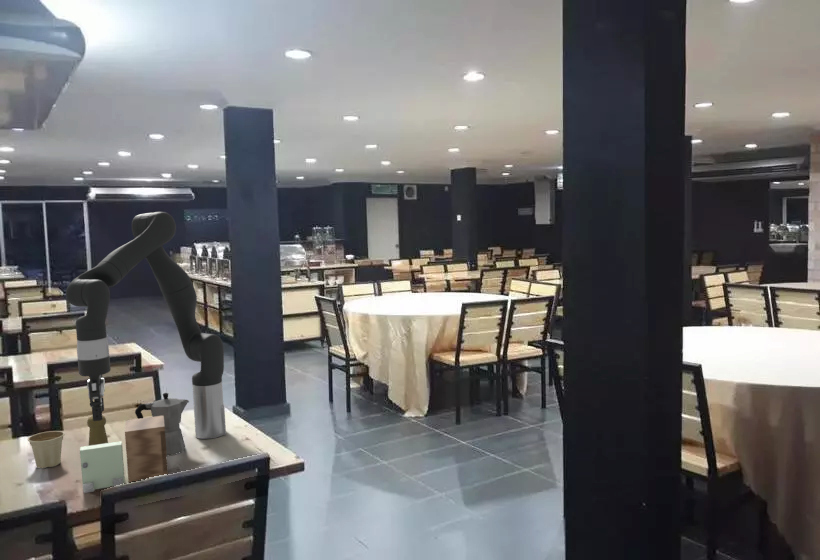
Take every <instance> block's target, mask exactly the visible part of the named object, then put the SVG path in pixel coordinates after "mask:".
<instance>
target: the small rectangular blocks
mask: <svg viewBox="0 0 820 560" xmlns="http://www.w3.org/2000/svg"><path fill="white" fill-rule="evenodd" d="M120 484H123V477H118V478H113V486H116V485H120ZM113 486H112V487H113ZM83 489H84V491H83V494H87V493H92V492H93V493H94V492H95V489H94V482H87V483H82V490H83Z"/></svg>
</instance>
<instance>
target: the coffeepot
mask: <svg viewBox="0 0 820 560" xmlns="http://www.w3.org/2000/svg"><path fill="white" fill-rule="evenodd" d="M162 396H163V397H162V399H159V400H155V401H152V402H147V403H141V404H138V407H137V408H136V409H135V411H134V413H135V416H136V417H137V418H136V419H140V418H144V415H143V413H142V411H150V412H151V417H156V416H163V415H164V425H165V439H166V453H167V455H169V456H173V455H174V454H175V455H177V454H176V453H178V454H180V453H182V452H184V451H185V449H186V443H185V440H184V436H183V432H182V428H181V427H180V423H181V422H182V414H183V412H184V410H185V408H186V407H187V405H188V403H190V401H189V400H188V399H185V398H181V399H180V398H173V397H172V398H169V393H168V392H164V393H163V394H162ZM179 452H180V453H179ZM175 455H174V456H175Z"/></svg>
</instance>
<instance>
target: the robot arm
mask: <svg viewBox="0 0 820 560" xmlns="http://www.w3.org/2000/svg"><path fill="white" fill-rule="evenodd" d="M131 231H132V235H133V238H134V239H132V240H130V241H129V242H127V243H125V244H123V245H121V246H119V247H117V248H116V249H114V250H112V251H111V252H110V253H109V254H107V255H106V256H105V257H104V258H103V259H102V260H101V261H100V262H99V263H98V264H97V265H96V266H94V267H93V268H90V269H88V270H86V271H85V272H83V273H81V274H80V275H78V276H77V277H75V278H73V280H72V281H70V283H69V284H68V286H67V287H66V289H65V290H66V291H65V297H66V301H67V302H68V303H69V304H70V305H72V306H75V307H82V308H86V307H87V310H86V314H85V315H83V316H79V317H78V318H77V319H76V321H75V331H76V332H75V333H76V355H77V365H78V367H77V368H78V375H79V376H82V377H89V379H88V380H87V383H86V388H87V390H88V391H87V392H88V394H87V396H88V399H89V406H90V408H91V412H92V415H91V416H93V421H100V420H102V415H103V412H104V411H105V404H104V396H105V391H106V389H105V385H106V383H105V378H104V377H103V375H106V374H108V373H110V372H111V359H110V356H111V355H110V349H109V348H110V347H109V342H108V336H107V325H106V321H107V316H108V311H109V307H110V306H109V305H110V299H111V294H110V292H111V291H110V288H112V287H114V286H116V285H118V283H120V282H121V281H122V280H123V279H124V278H125V277H126V276H127V275H128V273H130V271H131V270H133V269H134V268H135V267H136V266H137V265H138V264H140V263H141V262H142V261H143V260H144V259H145V260H146V261H147V263H148V264H149V266H150V268H151V271H152V274H153V275H154V278H155V279H156V282H157V283H158V286H159V289H160V292H161V294H162V296H163V299H164V300H165V303H166V305H167V307H168V309H169V311H170V314H171V316H172V318H173V321H174V323H175V326H176V329H177V331H178V334H179V338H180V342H181V344H182V348H183V350H184V353H185V355H186V356H187V358H188V359H189V360H191V361H192V362H193V361H194V362H199V363H200V370H199V372H196V373H194V374H193V375H192V376H191V386H192V387H191V388H192V399H193V400H192V401H193V413H194V416H193V417H194V430H195V431H194V432H195V437H196V439H197V438H198V439H201V440H202V439H203V440H206V439H207V440H208V439H215V438H218V437H219V438H220V437H222V436H226V435H227V429H226V412H225V411H226V410H225V409H226V408H225V405H224V394H223V393H224V390H223V374H224V371H225V364H224V363H225V357H224V356H225V353H224V352H225V351H224V350H225V349H224V343H223V340H222V339H221V337H220V336H219V334H214V333H205V332H202V330H201V329H200V328H201V327H200V326H199V324H198V321H197V318H196V308H197V302H198V301H197V300H198V298H197V293H196V290H195V287H194V284H193V282H192V280H191V277H190V275H189V274H188V273H187V271H185V270H184V269H183V268H182V267H181V266H180V265H179V264H178V263H176V261H175V260H173V259H172V258H171V257H170V255H168V253H167V252H166V250H165V248H164V245H165V244H167V243H168V242H170V241H171V240H172V239H173V238H174V236H175V235H176V232H177V225H176V220H175V219H174V217H173V216H172V215H171V214H169V213H168V212H166V211H155V212H146V213H140V214H137V215H135V216H134V217H133V219H132V221H131Z"/></svg>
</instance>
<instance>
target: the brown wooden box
mask: <svg viewBox="0 0 820 560" xmlns="http://www.w3.org/2000/svg"><path fill="white" fill-rule="evenodd" d="M124 439H125V451H126V454H125V455H126V466H127V478H128V483H133V482H132V481H135V482H139V481H138V480H141V479H146V478H149V477H154V476H159V475H164V474H168V475H169V470H168V469H169V468H168V456H167V453H166V439H165V425H164V415H163V416H156V417H152V416H150V417H143V418H140V419H138V418H133V419H126V420H125V425H124ZM141 481H142V480H141Z"/></svg>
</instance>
